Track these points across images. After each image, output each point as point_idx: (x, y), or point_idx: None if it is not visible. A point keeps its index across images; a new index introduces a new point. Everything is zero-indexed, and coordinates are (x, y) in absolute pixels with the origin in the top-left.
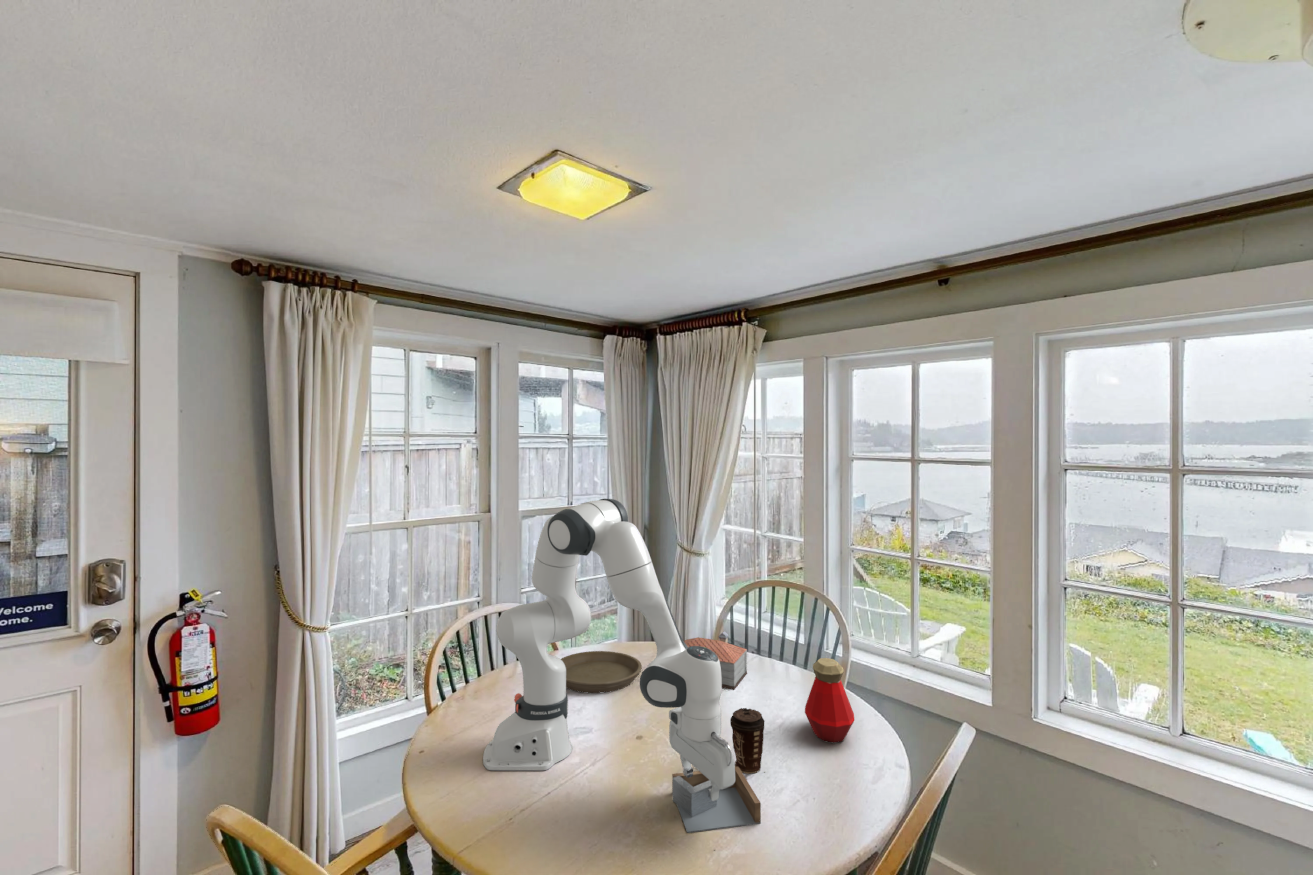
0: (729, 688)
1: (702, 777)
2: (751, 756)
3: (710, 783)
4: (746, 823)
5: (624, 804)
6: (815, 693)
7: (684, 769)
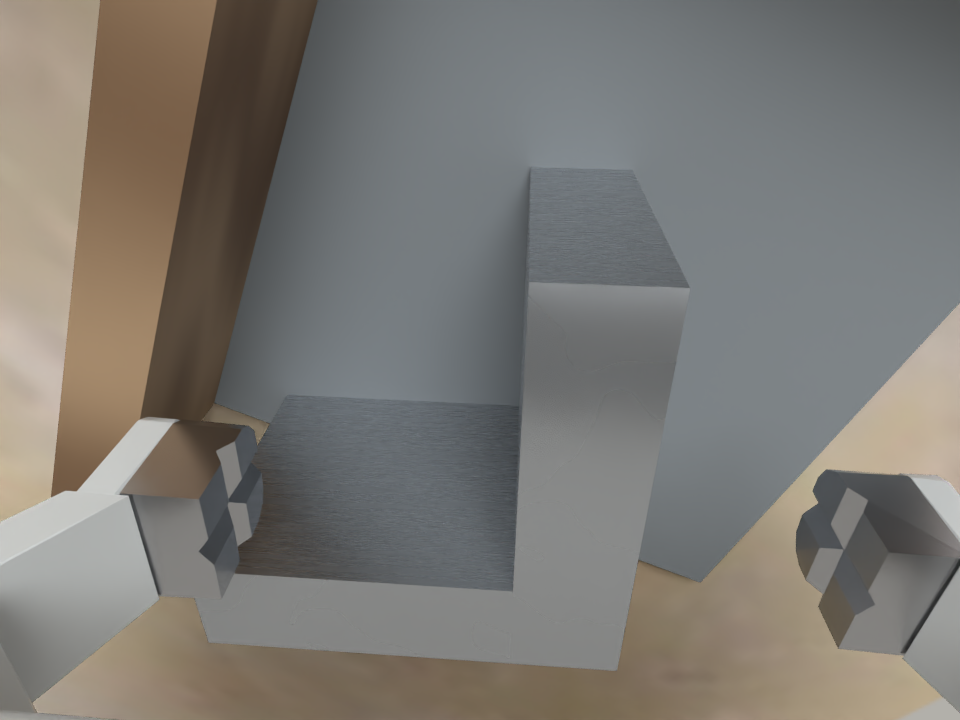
0: None
1: (214, 153)
2: None
3: (613, 374)
4: None
5: (181, 670)
6: None
7: (160, 581)
